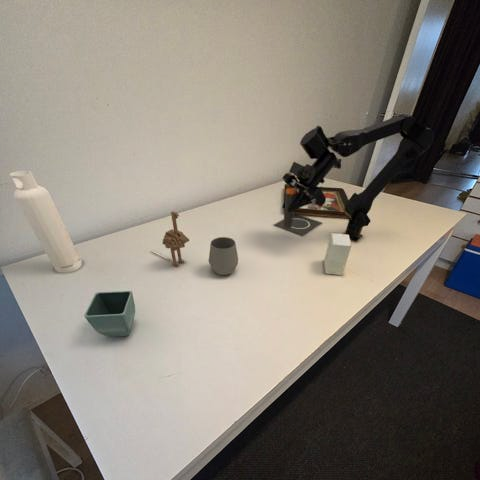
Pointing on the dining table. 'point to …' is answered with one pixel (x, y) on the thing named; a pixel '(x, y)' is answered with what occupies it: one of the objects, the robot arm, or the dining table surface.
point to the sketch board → (300, 224)
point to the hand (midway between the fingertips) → (285, 209)
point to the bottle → (45, 222)
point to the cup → (223, 255)
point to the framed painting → (331, 206)
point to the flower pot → (111, 313)
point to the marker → (289, 200)
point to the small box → (337, 253)
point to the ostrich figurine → (174, 240)
